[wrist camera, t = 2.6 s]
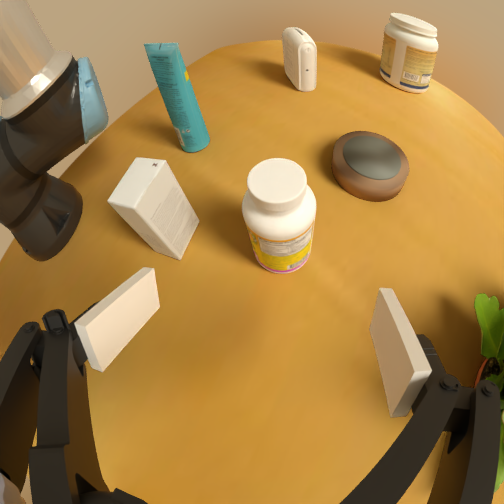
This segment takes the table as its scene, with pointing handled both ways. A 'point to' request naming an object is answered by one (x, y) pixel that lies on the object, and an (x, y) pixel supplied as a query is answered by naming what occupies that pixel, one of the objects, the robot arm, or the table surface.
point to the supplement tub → (408, 53)
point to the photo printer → (300, 58)
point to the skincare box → (155, 206)
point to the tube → (178, 95)
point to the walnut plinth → (369, 166)
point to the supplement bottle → (279, 214)
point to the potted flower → (492, 358)
